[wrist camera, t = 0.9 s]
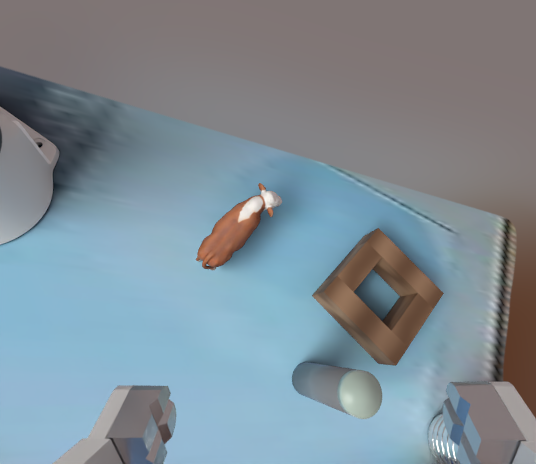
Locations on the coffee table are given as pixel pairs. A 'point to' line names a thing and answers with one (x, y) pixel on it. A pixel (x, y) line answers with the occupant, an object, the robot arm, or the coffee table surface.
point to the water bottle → (442, 442)
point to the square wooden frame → (361, 316)
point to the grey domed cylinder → (339, 388)
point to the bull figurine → (235, 228)
